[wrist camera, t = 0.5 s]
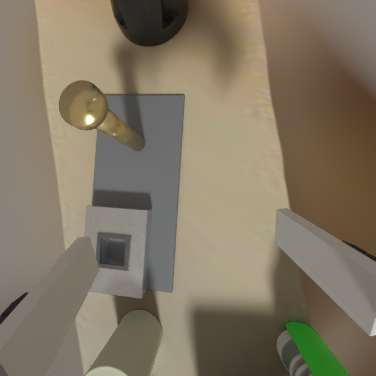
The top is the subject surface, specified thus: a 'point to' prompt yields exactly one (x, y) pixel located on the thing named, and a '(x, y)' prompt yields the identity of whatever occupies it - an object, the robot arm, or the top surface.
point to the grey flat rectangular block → (134, 248)
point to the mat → (145, 175)
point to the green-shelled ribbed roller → (306, 352)
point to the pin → (95, 114)
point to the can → (130, 347)
